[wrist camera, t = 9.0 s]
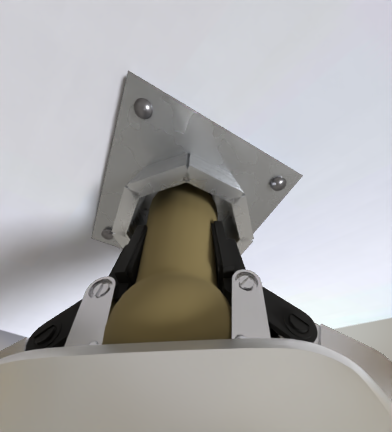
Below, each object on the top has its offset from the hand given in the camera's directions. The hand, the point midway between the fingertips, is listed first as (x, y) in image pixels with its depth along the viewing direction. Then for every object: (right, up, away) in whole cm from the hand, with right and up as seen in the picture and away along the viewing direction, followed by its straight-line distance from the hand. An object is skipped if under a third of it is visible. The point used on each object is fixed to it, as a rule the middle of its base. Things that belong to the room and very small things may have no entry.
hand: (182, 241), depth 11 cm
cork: (0, +2, +3) cm, 4 cm away
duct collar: (0, +3, +5) cm, 5 cm away
